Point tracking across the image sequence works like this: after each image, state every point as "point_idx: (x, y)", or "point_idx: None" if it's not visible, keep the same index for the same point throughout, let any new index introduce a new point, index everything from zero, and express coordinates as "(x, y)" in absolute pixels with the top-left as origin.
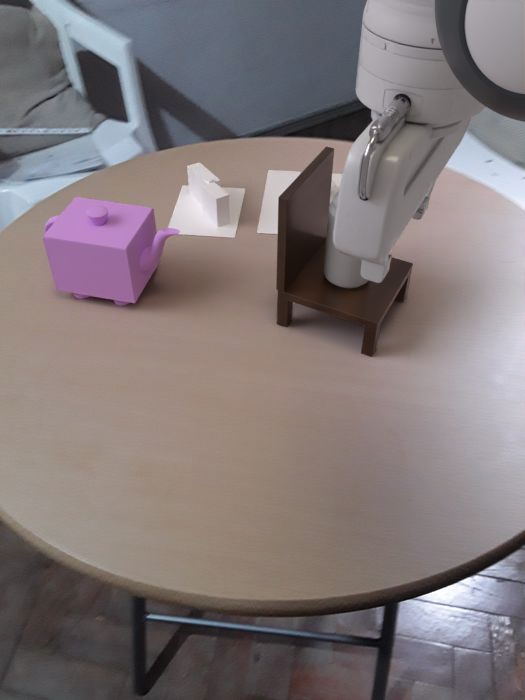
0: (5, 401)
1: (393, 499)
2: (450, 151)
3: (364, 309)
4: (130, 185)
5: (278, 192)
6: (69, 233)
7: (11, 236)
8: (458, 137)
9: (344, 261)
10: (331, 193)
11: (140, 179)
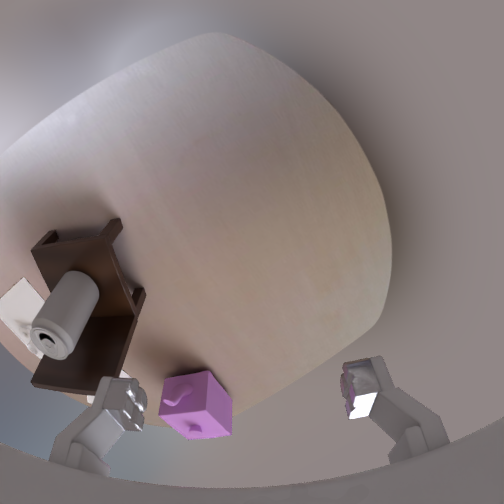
0: (315, 367)
1: (247, 125)
2: (57, 498)
3: (99, 255)
4: None
5: None
6: (218, 430)
7: None
8: (11, 484)
9: (85, 303)
10: (24, 325)
11: None
